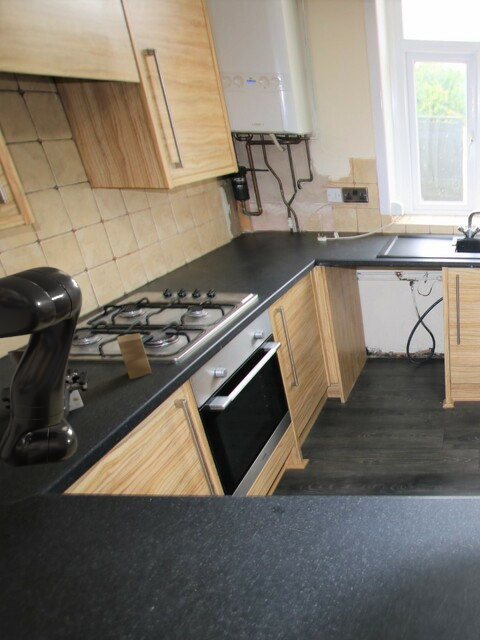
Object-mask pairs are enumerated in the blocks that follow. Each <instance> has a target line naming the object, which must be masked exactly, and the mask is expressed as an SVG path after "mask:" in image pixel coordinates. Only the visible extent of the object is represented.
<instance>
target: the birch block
mask: <svg viewBox="0 0 480 640" xmlns="http://www.w3.org/2000/svg"><path fill="white" fill-rule="evenodd" d="M116 340H117V344H118V347H119V350H120V353H121V356H122V360H123V363H124V365H125V369H126V372H127V375H128V379H129V380H133V379H136V378H140V377H143V376H147V375H151V374H152V369H151V366H150V363H149V359H148V356H147V353H146V349H145V345H144V342H143V340H142V337H141V333H140V332H138V333H132V334H127V335H126V334H125V335H121V336H116Z"/></svg>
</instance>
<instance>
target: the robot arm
mask: <svg viewBox="0 0 480 640" xmlns="http://www.w3.org/2000/svg"><path fill="white" fill-rule="evenodd" d="M82 306H83V293H82V290H81V287H80V286H79V283H78V282H77V281H76V279H74V278H73V277H72V276H71V275H70V274H69V273H67V272H65V271H64V270H61V269H60V268H56V267H53V266H37V267H32V268H28V269H25V270H21V271H19V272H16V273H13V274H10V275H7V276H3V277H0V339H8V338H15V337H21V336H22V337H23V336H28V335H29V338H28V341H27V345H26V346H25V347H26V349H25V351H24V354H23V356H22V358H21V360H20V362H19V364H18V366H17V368H16V370H15V369H14V373H13V375H12V377H11V381H10V385H9V387H8V386H7V387H4V388H2V389H1V402H2V404H3V406H4V407H5V409H7V410H9V409H10V417H9V422H8V424H7V425H8V426H7V428H6V430H5V432H4V434H3V436H2V438H1V440H0V462H1V463H2V464H3V465H4V466H7V467H10V468H23V467H30V466H31V467H32V466H40V465H48V464H57V463H62V462H66V461H67V460H69V459H71V458H72V457H73V456H74V455H75V454H76V452H77V450H78V447H79V438H78V435H77V432H76V430H75V429H74V428H73V426H72V424H71V423H69V422H68V416H69V412H70V411H69V409H70V394H71V393H72V392H73V391H74V390H78V391H81V392H82V393H85V392H88V391H89V390H90V385H91V380H90V379H91V378H90V377H89V374H88V371H82V372H80V370H79V369H78V368H75V367H69V368H70V375H68V376H66V372H67V365H68V366H69V361H70V355H71V350H72V346H73V343H74V338H75V334H76V329H77V326H78V322H79V318H80V315H81V311H82ZM71 379H72V381H73V382H72V381H71Z"/></svg>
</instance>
